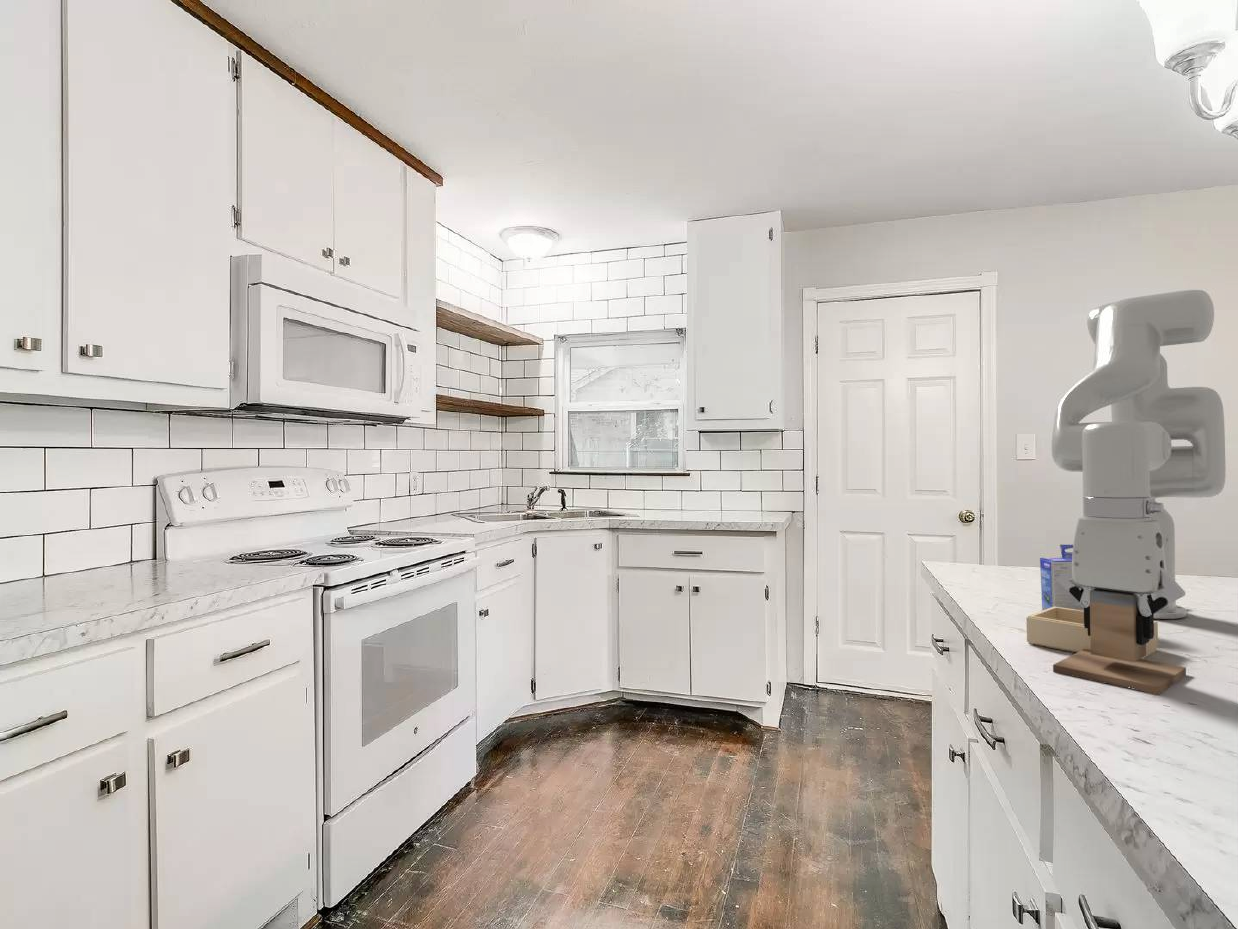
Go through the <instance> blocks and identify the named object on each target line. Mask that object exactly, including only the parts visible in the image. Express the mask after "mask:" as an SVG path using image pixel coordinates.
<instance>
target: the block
mask: <svg viewBox="0 0 1238 929" xmlns="http://www.w3.org/2000/svg"><path fill="white" fill-rule="evenodd" d="M1137 615H1139V607H1138V604H1137V602H1136V595H1134V593H1127V592H1119V591H1110V590H1103V589H1095V590H1090V637H1091V654H1092V655H1097V656H1103V657H1108V658H1113V659H1118V660H1123V661H1129V662H1136V661H1137V660H1139V659H1141V658H1142V657H1144V656H1146V644H1144V645H1139V644H1138V643H1137V642H1136V616H1137Z"/></svg>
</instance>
